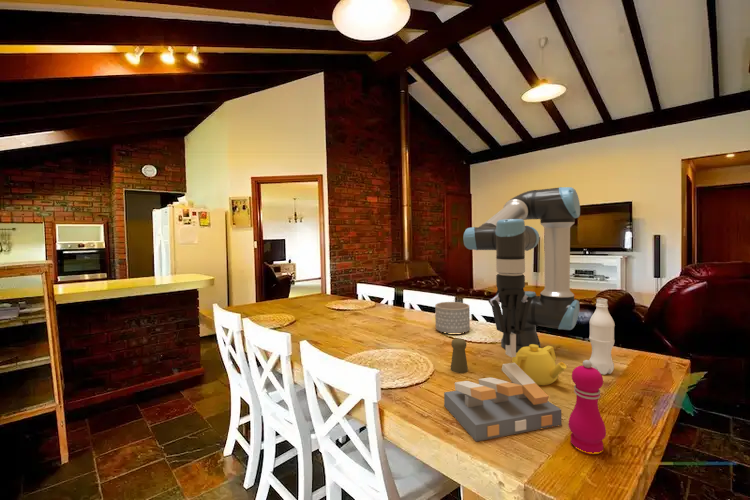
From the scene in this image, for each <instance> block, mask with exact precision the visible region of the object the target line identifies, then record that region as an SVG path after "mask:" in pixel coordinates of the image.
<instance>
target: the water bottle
mask: <svg viewBox="0 0 750 500" xmlns="http://www.w3.org/2000/svg"><path fill="white" fill-rule="evenodd" d="M595 307H596V309H595V310H594V312H593V313H592V315H591V317H590V318H589V337H588V339H589V341H590V344H591V354H590V358H589V359H588V360H589V361H590V362H591V363H592V366H591V367H593V368H595V369H597V370H598V371H599V372H600V373H601V375H602V376H604V375H605V376H606V375H607V374H609V375H611V374H612V373H613V371H614V369H615V363H614V361H613V359H612V350H613V347H614V345H615V326H616V325H615V321H614V319H613V317H612V316H611V314H610V311H609V309H608V308H609V304H608V299H607V298H596V304H595Z"/></svg>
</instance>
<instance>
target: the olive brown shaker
mask: <svg viewBox="0 0 750 500" xmlns="http://www.w3.org/2000/svg"><path fill="white" fill-rule="evenodd" d="M450 345H451V348H452V355H451V362H450V371H451V372H453V373H456V374H466V373H468V371H469V369H468V367H469V366H468V361H467V354H466V348H467V341H466V340H465V339H463V338H453V339H452V341H451V344H450Z"/></svg>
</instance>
